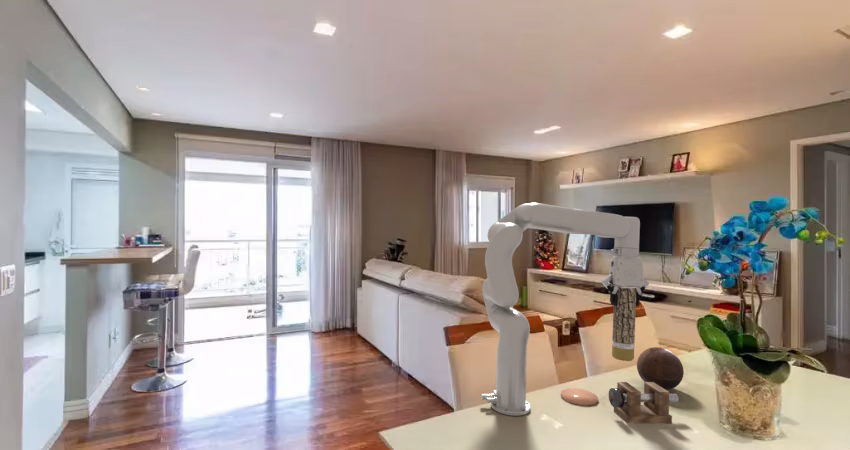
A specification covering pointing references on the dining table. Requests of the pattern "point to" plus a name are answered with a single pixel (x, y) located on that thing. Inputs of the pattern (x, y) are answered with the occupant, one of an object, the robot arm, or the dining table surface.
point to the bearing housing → (649, 410)
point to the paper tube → (624, 324)
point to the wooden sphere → (660, 367)
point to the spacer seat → (579, 396)
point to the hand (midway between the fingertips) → (624, 304)
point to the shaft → (619, 398)
